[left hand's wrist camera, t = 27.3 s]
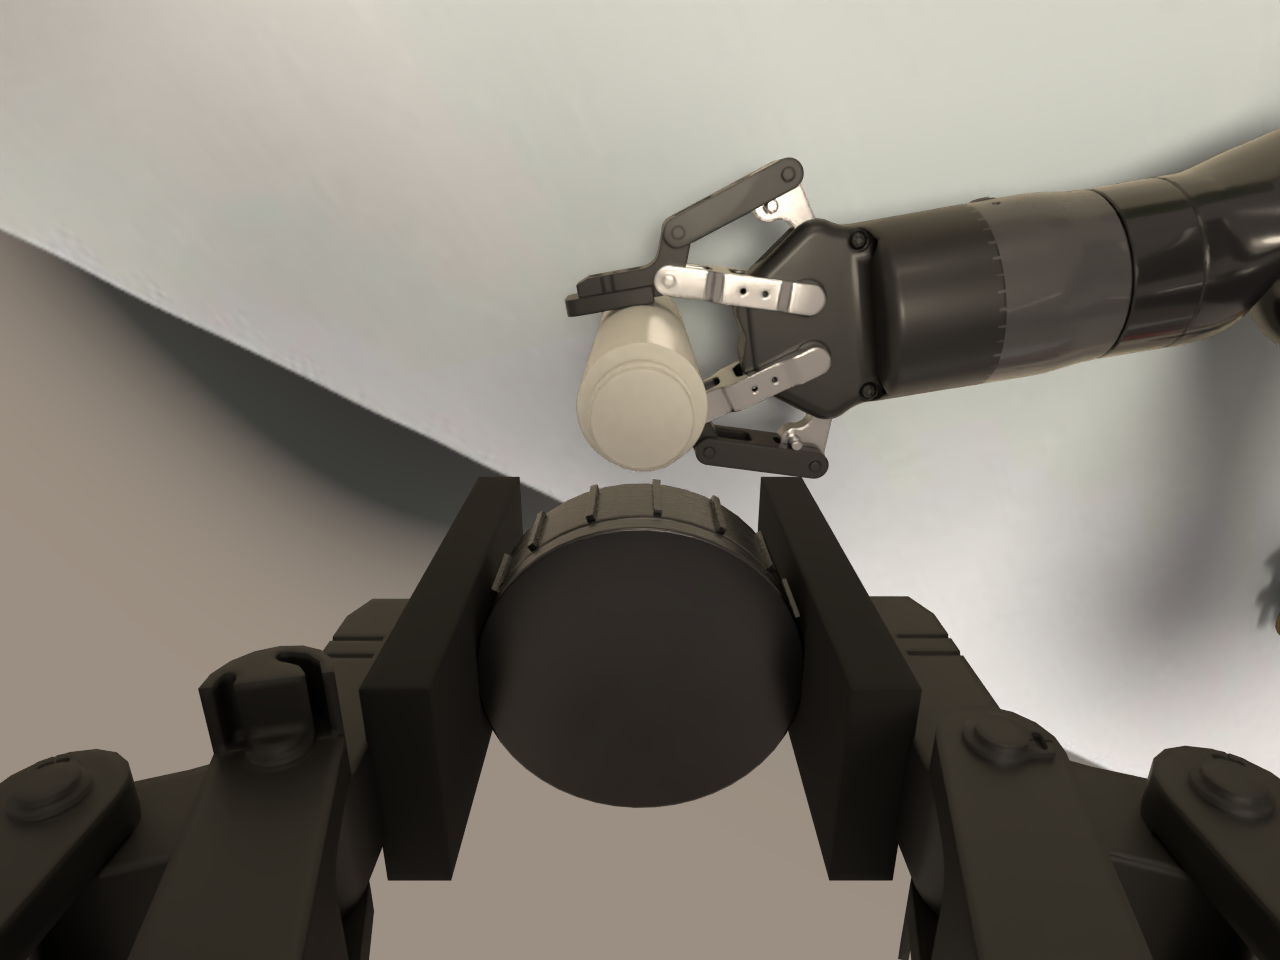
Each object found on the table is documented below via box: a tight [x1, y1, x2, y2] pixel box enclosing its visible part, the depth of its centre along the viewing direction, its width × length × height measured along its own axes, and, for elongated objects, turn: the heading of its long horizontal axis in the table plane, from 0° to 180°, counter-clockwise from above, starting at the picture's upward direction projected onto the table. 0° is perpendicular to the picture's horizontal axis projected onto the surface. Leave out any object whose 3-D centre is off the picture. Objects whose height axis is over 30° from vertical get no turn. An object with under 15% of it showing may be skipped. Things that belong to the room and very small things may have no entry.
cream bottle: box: [577, 295, 708, 471], centre depth 31 cm, size 4×4×17 cm
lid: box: [476, 479, 804, 808], centre depth 11 cm, size 5×5×2 cm
